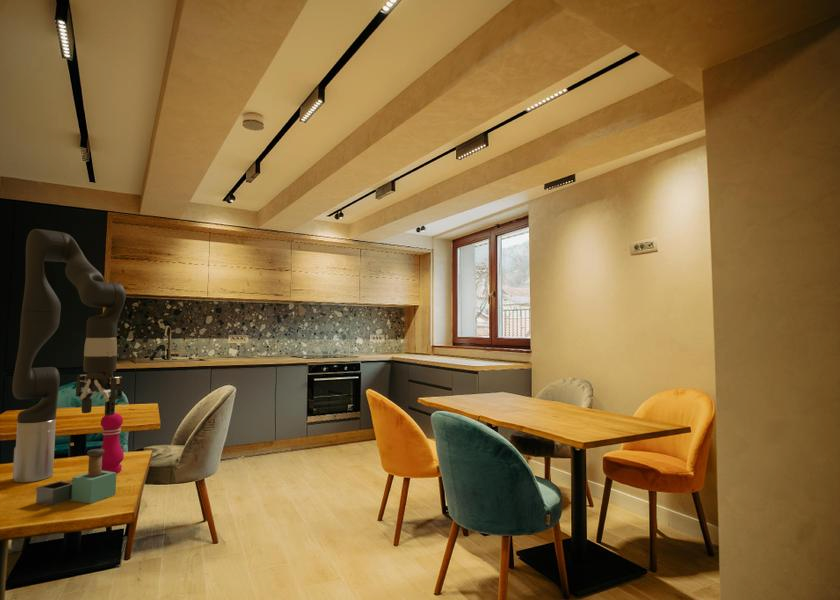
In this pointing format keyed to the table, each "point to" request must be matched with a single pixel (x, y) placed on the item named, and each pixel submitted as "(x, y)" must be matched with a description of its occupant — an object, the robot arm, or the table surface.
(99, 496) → the socket
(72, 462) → the table surface
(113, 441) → the pepper mill
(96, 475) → the pin
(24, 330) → the robot arm
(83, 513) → the table surface
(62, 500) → the mount
